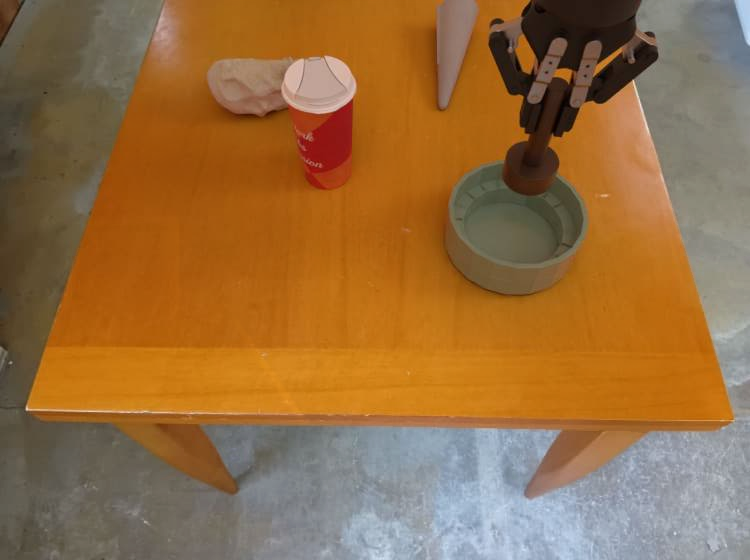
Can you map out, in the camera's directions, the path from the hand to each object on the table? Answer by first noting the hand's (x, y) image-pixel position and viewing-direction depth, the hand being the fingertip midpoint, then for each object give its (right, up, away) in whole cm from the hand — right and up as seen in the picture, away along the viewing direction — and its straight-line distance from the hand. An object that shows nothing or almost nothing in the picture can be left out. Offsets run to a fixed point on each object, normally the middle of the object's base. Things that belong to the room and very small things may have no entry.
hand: (543, 128), depth 52 cm
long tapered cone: (-3, +18, +33) cm, 37 cm away
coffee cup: (-22, 0, +22) cm, 31 cm away
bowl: (0, -9, +16) cm, 18 cm away
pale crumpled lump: (-29, +12, +29) cm, 43 cm away
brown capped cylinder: (0, -3, +5) cm, 6 cm away
